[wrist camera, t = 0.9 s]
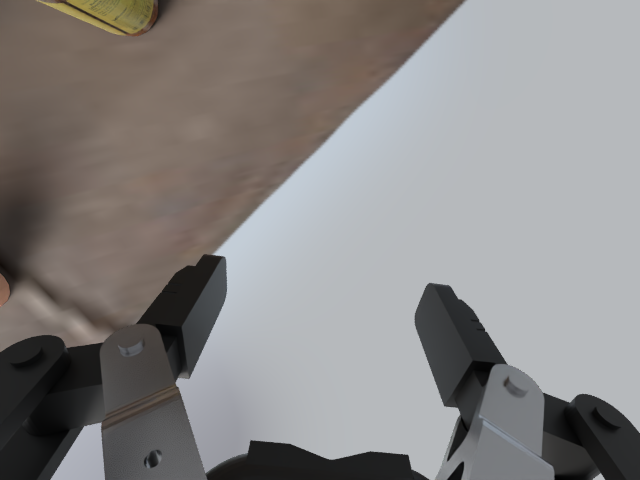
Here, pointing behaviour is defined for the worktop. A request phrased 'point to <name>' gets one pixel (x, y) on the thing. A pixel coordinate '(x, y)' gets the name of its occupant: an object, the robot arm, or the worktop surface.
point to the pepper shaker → (3, 290)
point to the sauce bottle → (111, 14)
